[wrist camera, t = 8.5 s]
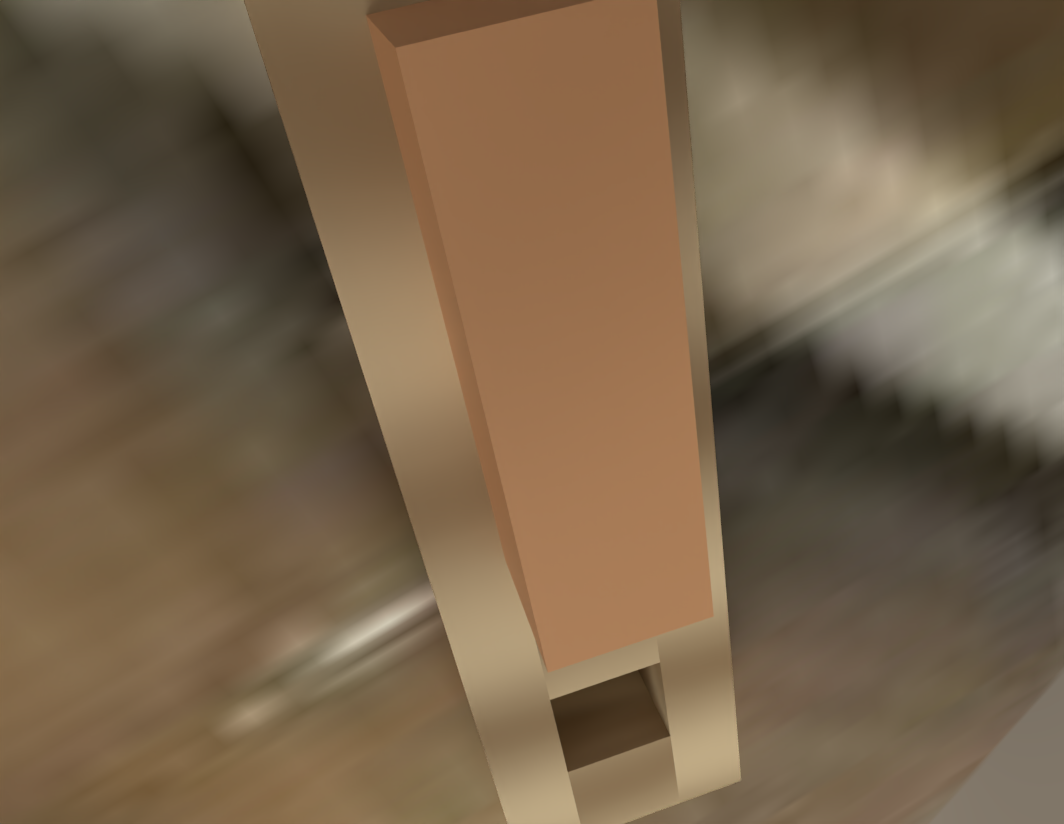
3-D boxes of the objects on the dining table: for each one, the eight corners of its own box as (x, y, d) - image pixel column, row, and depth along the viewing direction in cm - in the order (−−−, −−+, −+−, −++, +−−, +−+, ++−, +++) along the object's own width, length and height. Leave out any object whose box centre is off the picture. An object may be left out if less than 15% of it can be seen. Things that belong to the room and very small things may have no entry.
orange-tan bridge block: (608, 449, 20) (713, 616, 15) (478, 489, 20) (548, 672, 15) (528, -45, 15) (655, -15, 10) (349, -4, 14) (395, 47, 10)
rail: (693, 693, 26) (740, 780, 23) (493, 763, 25) (519, 861, 22) (585, -243, 14) (658, -271, 11) (199, -166, 13) (186, -178, 11)
